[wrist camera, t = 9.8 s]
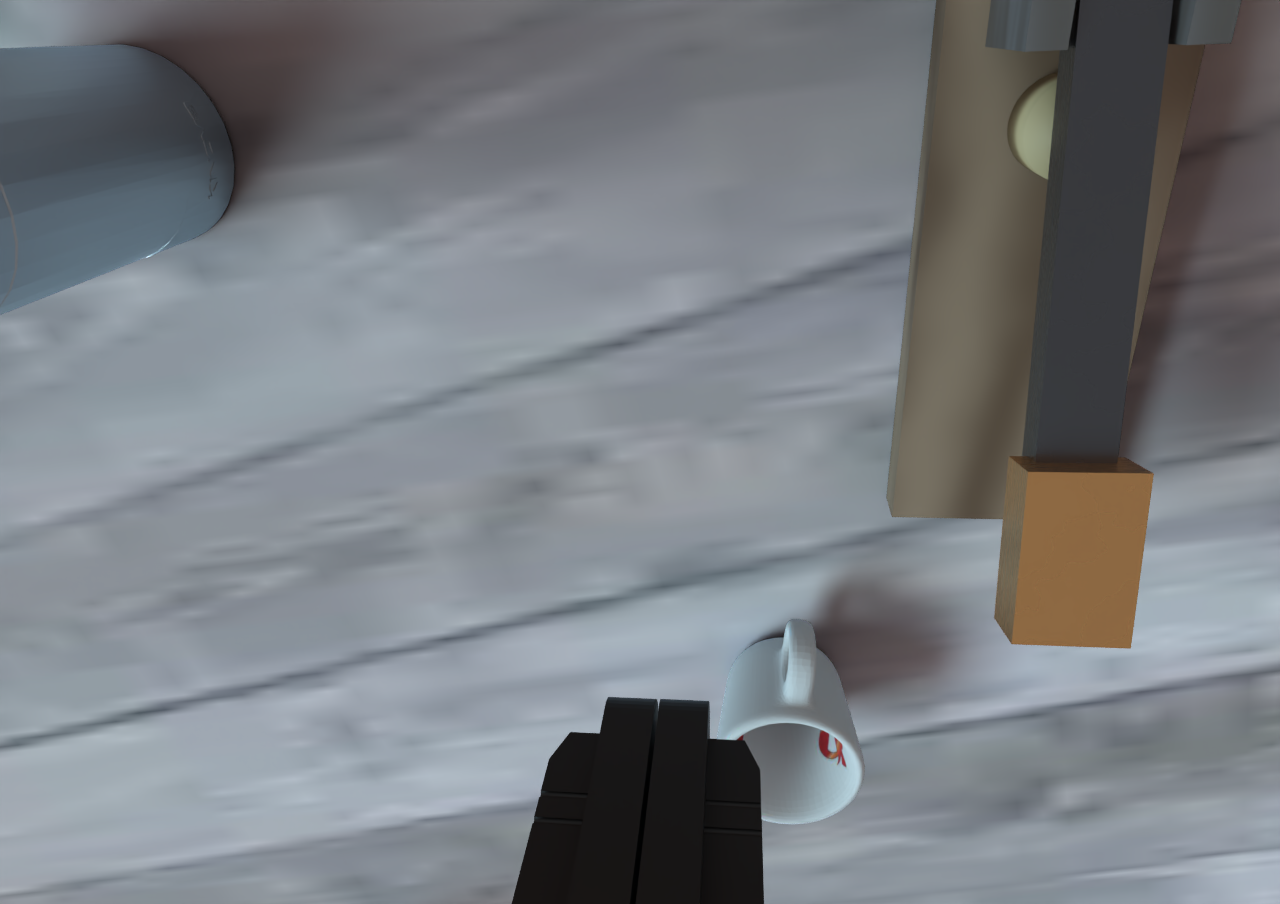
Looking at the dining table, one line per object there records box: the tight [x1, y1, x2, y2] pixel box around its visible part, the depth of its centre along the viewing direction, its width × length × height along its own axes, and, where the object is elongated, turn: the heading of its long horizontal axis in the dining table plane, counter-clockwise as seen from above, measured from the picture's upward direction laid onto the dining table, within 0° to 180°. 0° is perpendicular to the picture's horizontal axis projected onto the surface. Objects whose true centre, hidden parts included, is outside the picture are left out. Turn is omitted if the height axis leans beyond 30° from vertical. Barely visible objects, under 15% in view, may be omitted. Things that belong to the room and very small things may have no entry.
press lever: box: [994, 0, 1173, 648], centre depth 32 cm, size 4×24×3 cm, turn 3°
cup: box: [717, 619, 865, 824], centre depth 48 cm, size 11×8×8 cm
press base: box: [886, 0, 1241, 519], centre depth 36 cm, size 10×26×8 cm, turn 2°
